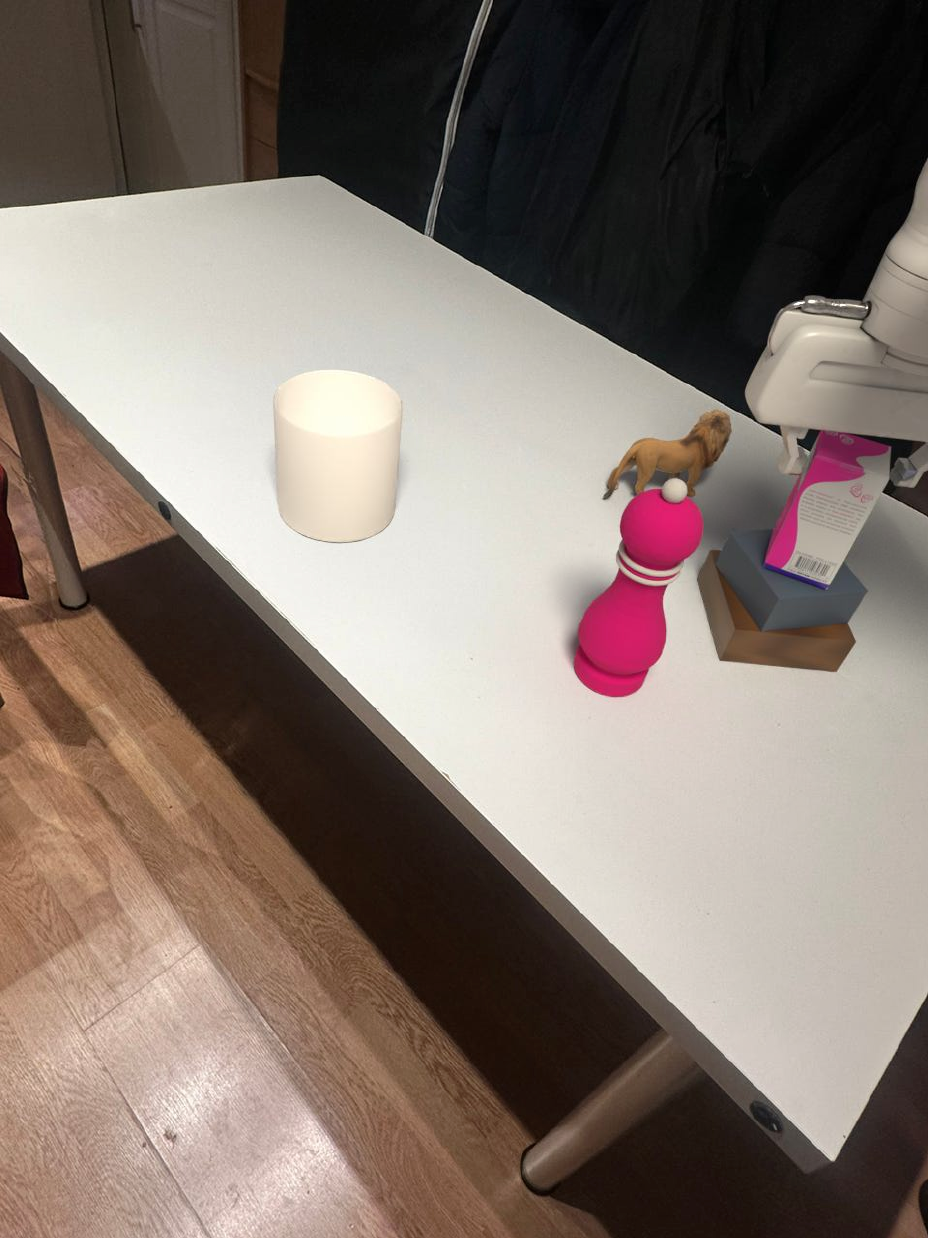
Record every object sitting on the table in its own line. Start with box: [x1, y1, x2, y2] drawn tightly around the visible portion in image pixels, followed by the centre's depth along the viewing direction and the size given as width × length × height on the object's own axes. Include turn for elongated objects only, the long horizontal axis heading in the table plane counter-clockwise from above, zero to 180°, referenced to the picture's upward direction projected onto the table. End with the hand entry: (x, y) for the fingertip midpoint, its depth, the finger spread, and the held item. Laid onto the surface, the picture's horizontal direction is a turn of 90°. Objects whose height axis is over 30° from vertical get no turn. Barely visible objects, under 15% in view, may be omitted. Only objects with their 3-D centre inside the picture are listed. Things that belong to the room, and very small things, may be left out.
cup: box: [272, 369, 404, 543], centre depth 79 cm, size 12×12×12 cm
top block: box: [716, 528, 869, 632], centre depth 74 cm, size 9×9×4 cm
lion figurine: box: [603, 408, 733, 499], centre depth 89 cm, size 15×5×9 cm, turn 117°
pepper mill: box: [573, 478, 704, 698], centre depth 65 cm, size 7×7×20 cm
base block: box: [696, 549, 857, 673], centre depth 77 cm, size 11×11×4 cm
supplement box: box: [763, 430, 892, 590], centre depth 69 cm, size 6×6×12 cm
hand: (844, 476), depth 66 cm, fingers open, 8 cm apart
